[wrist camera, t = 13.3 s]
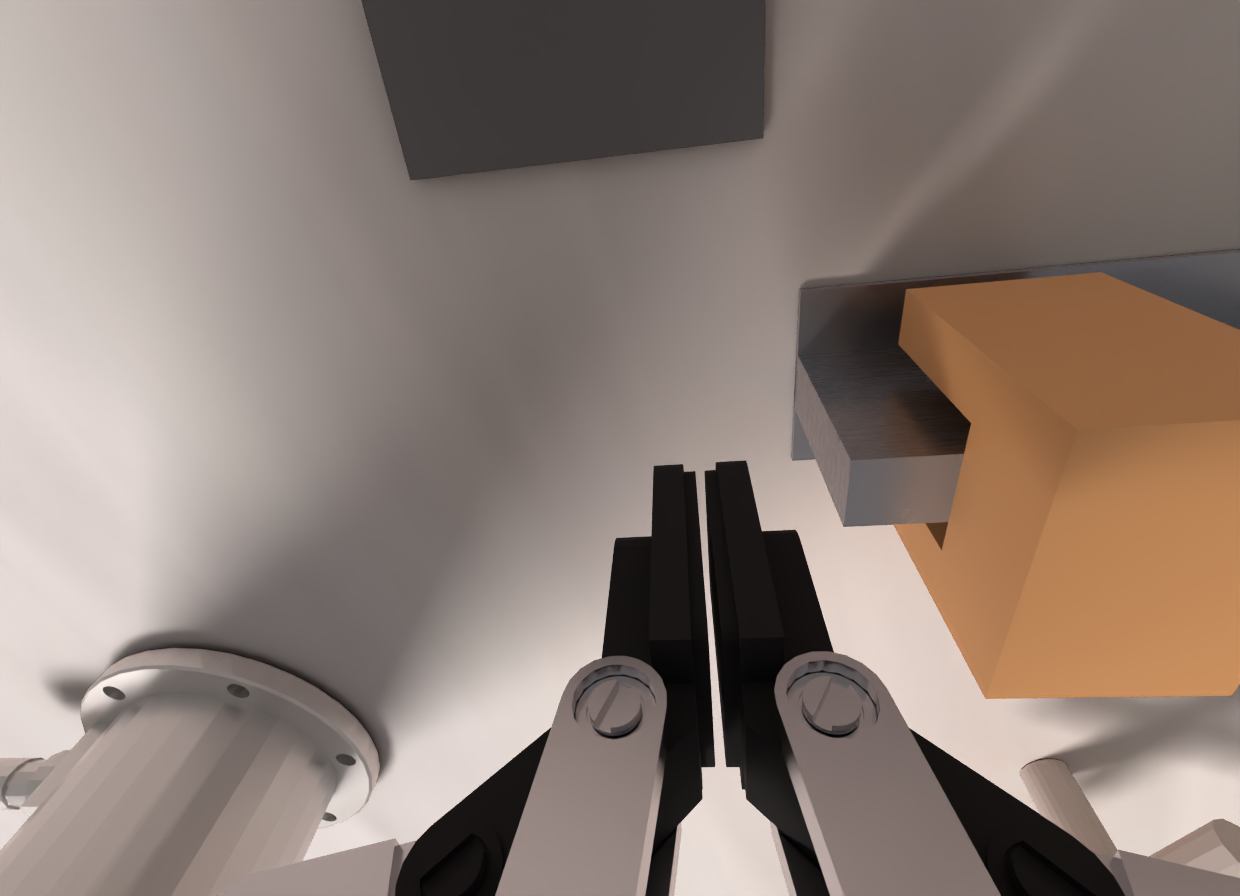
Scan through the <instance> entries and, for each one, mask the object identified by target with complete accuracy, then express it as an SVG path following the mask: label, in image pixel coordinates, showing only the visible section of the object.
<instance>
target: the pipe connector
mask: <svg viewBox="0 0 1240 896" xmlns="http://www.w3.org/2000/svg"><path fill="white" fill-rule="evenodd" d="M1020 776H1021V778H1022V780H1023V782H1024V784H1025V786H1026V788H1027V790H1028V792H1029V794H1030V796H1031V798H1032V800H1033V801H1034V803H1035V805H1036V807H1037V809H1038V811H1039V813H1040V815H1042V816H1043V817H1045V818H1046V819H1048V820H1049V821H1051V822H1052V823H1054V824H1055V825H1057V826H1058V827H1060V828H1061V829H1063V830H1064V831H1066V832H1067V833H1069V834H1070V835H1072V836H1073V837H1074V838H1076V839H1077V840H1078V841H1079V842H1081V843H1082V844H1083V845H1084V846H1086V847H1087V848H1088V849H1089V850H1091V851H1092V852H1095V853H1099V854H1103V855H1107V856H1111V857H1114V855H1115V854H1116V852H1117V851H1118V850H1117V849H1116V847H1115V845H1114V844H1113V842H1112V840H1111V839H1110V837H1109V835H1108V834H1107V832H1106V830H1105V828H1104V827H1103V825H1102V823H1101V822H1100V820H1099V818H1098V817H1097V815H1096V813H1095V812H1094V810H1093V808H1092V807H1091V805H1090V803H1089V802H1088V800H1087V798H1086V797H1085V795H1084V793H1083V792H1082V790H1081V788H1080V787H1079V785H1078V783H1077V782H1076V780H1075V778H1074V777H1073V775H1072V773H1071V772H1070V770H1069V768H1068V767H1067V765H1066V764H1065V763H1064V762H1062V761H1059V760H1055V759H1044V760H1038V761H1035V762H1032V763H1030V764H1028V765H1026V766H1025V767H1024V768H1023V769H1022V770H1021V772H1020ZM1149 857H1152V858H1156V859H1160V860H1165V861H1169V862H1173V863H1177V864H1182V865H1186V866H1190V867H1195V868H1199V869H1203V870H1207V871H1212V872H1216V873H1220V874H1224V875H1229V876H1233V877H1237V878H1240V827H1239V826H1237V825H1235V824H1233V823H1231V822H1228V821H1226V820H1224V819H1216V820H1213V821H1211V822H1209V823H1207V824H1206V825H1204V826H1202V827H1200V828H1199V829H1197V830H1195V831H1193V832H1191V833H1190V834H1188V835H1186V836H1184V837H1183V838H1181V839H1179V840H1177V841H1176V842H1174V843H1172V844H1170V845H1168V846H1167V847H1165V848H1163V849H1161V850H1160V851H1158V852H1156V853H1154V854H1153V855H1151V856H1149Z"/></svg>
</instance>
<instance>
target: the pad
mask: <svg viewBox="0 0 1240 896" xmlns="http://www.w3.org/2000/svg"><path fill="white" fill-rule="evenodd" d="M361 1H362V4H363V8H364V12H365V15H366V19H367V23H368V26H369V30H370V34H371V37H372V41H373V45H374V48H375V52H376V56H377V59H378V63H379V67H380V70H381V74H382V78H383V81H384V85H385V89H386V92H387V96H388V100H389V103H390V107H391V110H392V114H393V118H394V121H395V125H396V129H397V132H398V136H399V140H400V143H401V147H402V151H403V154H404V158H405V162H406V165H407V169H408V173H409V176H410V180H417V179H425V178H434V177H442V176H450V175H459V174H467V173H475V172H484V171H492V170H501V169H509V168H517V167H526V166H534V165H542V164H551V163H559V162H568V161H576V160H584V159H593V158H601V157H609V156H618V155H626V154H635V153H643V152H651V151H660V150H668V149H676V148H685V147H693V146H702V145H710V144H718V143H727V142H735V141H743V140H752V139H760V138H763V119H764V47H765V0H361Z"/></svg>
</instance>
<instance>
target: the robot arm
mask: <svg viewBox="0 0 1240 896" xmlns="http://www.w3.org/2000/svg"><path fill="white" fill-rule="evenodd" d="M705 492H706V513H707V534H708V555H709V576H710V592H711V603H712V615H713V626H714V637H715V648H716V659H717V670H718V681H719V692H720V703H721V714H722V725H723V737H724V748H725V759H726V767H740V775H741V784H742V789H745V791H746V799H747V800H748V801H749V802H750V803H751V804H752V805H753V806H755V807H756V808H757V809H758V810H759V811H760V812H761V813H762V814H763V815H764V816H765V817H766V818H768V819H769V820H770V824H771V832H772V836H773V839H774V843H775V846H776V850H777V853H778V857H779V861H780V864H781V868H782V871H783V875H784V878H785V882H786V885H787V889H788V892H789V896H1240V878H1237V877H1233V876H1229V875H1224V874H1220V873H1216V872H1212V871H1207V870H1203V869H1199V868H1195V867H1190V866H1186V865H1182V864H1177V863H1173V862H1169V861H1165V860H1160V859H1156V858H1152V857H1147V856H1143V855H1139V854H1135V853H1130V852H1126V851H1122V850H1118V851H1117V852H1116V854H1115V855H1114V857H1111V856H1107V855H1103V854H1099V853H1095V852H1092V851H1091V850H1089V849H1088V848H1087V847H1086V846H1084V845H1083V844H1082V843H1081V842H1079V841H1078V840H1077V839H1076V838H1074V837H1073V836H1072V835H1070V834H1069V833H1067V832H1066V831H1064V830H1063V829H1061V828H1060V827H1058V826H1057V825H1055V824H1054V823H1052V822H1051V821H1049V820H1048V819H1046V818H1045V817H1043V816H1042V815H1040V814H1039V813H1037V812H1036V811H1034V810H1033V809H1031V808H1030V807H1028V806H1027V805H1025V804H1023V803H1022V802H1020V801H1019V800H1017V799H1016V798H1014V797H1013V796H1011V795H1010V794H1008V793H1007V792H1005V791H1004V790H1002V789H1001V788H999V787H998V786H996V785H995V784H993V783H992V782H990V781H989V780H987V779H986V778H984V777H983V776H981V775H980V774H978V773H976V772H975V771H973V770H972V769H970V768H969V767H967V766H966V765H964V764H963V763H961V762H960V761H958V760H957V759H955V758H954V757H952V756H951V755H949V754H948V753H946V752H945V751H943V750H942V749H940V748H939V747H937V746H936V745H934V744H933V743H931V742H929V741H928V740H926V739H925V738H923V737H922V736H920V735H919V734H917V733H916V732H914V731H913V730H911V729H910V728H909V727H908V726H907V724H906V722H905V720H904V718H903V717H902V715H901V713H900V711H899V709H898V708H897V706H896V704H895V702H894V700H893V698H892V697H891V695H890V693H889V691H888V689H887V688H886V687H885V685H884V684H883V683H882V681H881V680H880V679H879V677H878V676H877V675H876V674H875V673H874V672H873V671H871V670H870V669H869V668H868V667H866V666H865V665H864V664H863V663H861V662H859V661H857V660H854V659H852V658H850V657H848V656H846V655H842V654H838V653H834V652H833V648H832V645H831V642H830V638H829V635H828V631H827V628H826V625H825V621H824V618H823V615H822V611H821V608H820V605H819V601H818V598H817V595H816V591H815V588H814V585H813V581H812V578H811V575H810V571H809V568H808V565H807V561H806V558H805V555H804V551H803V548H802V545H801V541H800V538H799V535H798V533H797V531H796V530H782V531H762V530H761V526H760V521H759V517H758V512H757V508H756V503H755V498H754V494H753V489H752V485H751V480H750V475H749V471H748V466H747V462H746V461H730V462H716V470H710V471H705ZM81 720H82V724H83V727H84V730H85V735H84V736H83V737H82V738H81V739H80V741H79V742H78V743H77V744H76V745H75V746H74V747H73V748H72V749H71V750H65V751H62V752H60V753H57V754H55V755H53V756H51V757H50V758H49V759H47V760H44V759H43V758H0V810H19V809H21V810H22V811H23V812H24V813H25V814H27V815H28V816H29V818H28V819H27V821H26V822H25V823H24V824H23V825H22V826H21V828H20V829H19V830H18V831H17V832H16V833H15V834H14V836H13V837H12V838H11V839H10V840H9V841H8V842H7V844H6V845H5V846H4V847H3V848H2V849H1V850H0V896H674V891H675V882H676V874H677V865H678V857H679V848H680V840H681V821H682V820H683V819H684V818H685V817H686V816H687V815H688V814H689V813H690V812H691V811H692V809H693V808H694V807H695V806H696V805H697V804H698V803H699V802H700V801H701V800H702V789H703V788H702V769H701V767H715V755H714V736H713V717H712V698H711V679H710V660H709V643H708V628H707V615H706V602H705V589H704V577H703V564H702V551H701V538H700V526H699V513H698V500H697V488H696V475H695V471H693V472H684V469H683V464H679V465H663V466H654V474H653V508H652V536H651V537H629V538H616V540H615V545H614V553H613V562H612V571H611V580H610V589H609V598H608V607H607V616H606V625H605V634H604V643H603V652H602V658H601V659H598V660H594V661H593V662H591V663H589V664H588V665H586V666H584V667H583V668H581V669H580V670H579V671H578V672H577V673H576V674H575V675H574V676H573V677H572V678H571V679H570V681H569V682H568V684H567V686H566V688H565V690H564V692H563V694H562V697H561V700H560V703H559V706H558V709H557V712H556V715H555V718H554V721H553V724H552V727H551V728H550V729H549V730H547V731H546V732H545V733H544V734H542V735H541V736H540V737H539V738H538V739H536V740H535V741H534V742H533V743H532V744H530V745H529V746H528V747H527V748H525V749H524V750H523V751H522V752H521V753H519V754H518V755H517V756H516V757H515V758H513V759H512V760H511V761H510V762H508V763H507V764H506V765H505V766H504V767H502V768H501V769H500V770H499V771H498V772H496V773H495V774H494V775H493V776H491V777H490V778H489V779H488V780H487V781H485V782H484V783H483V784H482V785H480V786H479V787H478V788H477V789H476V790H474V791H473V792H472V793H471V794H470V795H468V796H467V797H466V798H465V799H463V800H462V801H461V802H460V803H459V804H457V805H456V806H455V807H454V808H453V809H451V810H450V811H449V812H448V813H446V814H445V815H444V816H443V817H442V818H440V819H439V820H438V821H437V822H435V823H434V824H433V825H432V826H431V827H430V828H429V829H428V830H427V831H426V832H425V833H424V834H423V835H422V836H421V837H420V838H419V839H418V840H417V841H413V842H409V843H405V844H401V845H399V843H398V842H397V840H396V839H391V840H387V841H383V842H379V843H375V844H371V845H367V846H363V847H359V848H355V849H350V850H346V851H342V852H338V853H334V854H330V855H326V856H322V857H318V858H314V859H310V860H306V861H303V859H304V856H305V854H306V852H307V850H308V848H309V846H310V844H311V841H312V839H313V837H314V835H315V833H316V831H317V829H319V828H325V827H329V826H332V825H335V824H338V823H341V822H343V821H345V820H347V819H349V818H350V817H352V816H353V815H355V814H357V813H358V812H359V811H360V810H361V809H362V808H363V807H364V806H365V805H366V803H367V802H368V800H369V798H370V795H371V793H372V791H373V788H374V786H375V784H376V782H377V779H378V774H379V769H380V764H379V758H378V752H377V750H376V748H375V746H374V744H373V741H372V739H371V737H370V735H369V734H368V732H367V731H366V730H365V729H364V727H363V726H362V725H361V724H360V722H359V721H358V720H357V718H356V717H354V716H353V715H352V714H351V713H350V712H349V711H348V710H347V709H346V708H345V707H343V706H342V705H341V704H340V703H339V702H338V701H336V700H335V699H333V698H332V697H330V696H329V695H327V694H326V693H325V692H323V691H322V690H320V689H319V688H317V687H316V686H314V685H312V684H310V683H308V682H306V681H304V680H302V679H300V678H298V677H296V676H295V675H293V674H291V673H288V672H286V671H283V670H281V669H278V668H276V667H273V666H271V665H268V664H266V663H263V662H260V661H256V660H253V659H249V658H245V657H242V656H238V655H235V654H230V653H224V652H218V651H212V650H206V649H192V648H168V649H158V650H148V651H144V652H141V653H137V654H134V655H130V656H127V657H125V658H123V659H121V660H120V661H118V662H116V663H115V664H113V665H111V666H110V667H109V668H108V669H107V670H106V671H105V672H104V673H103V674H102V675H101V676H100V677H99V678H98V679H97V680H96V681H95V682H94V683H93V684H92V685H91V686H90V687H89V688H88V690H87V692H86V694H85V696H84V698H83V700H82V701H81Z"/></svg>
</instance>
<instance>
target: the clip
mask: <svg viewBox="0 0 1240 896" xmlns="http://www.w3.org/2000/svg"><path fill="white" fill-rule="evenodd" d="M898 345H899V346H900V347H901V348H902V349H903V350H904V351H905V352H906V353H907V354H908V355H909V356H910V358H911V359H912V360H913V361H914V362H915V363H916V364H917V365H918V366H919V367H920V368H921V369H922V371H923V372H924V373H925V374H926V375H927V376H928V377H929V378H930V379H931V380H932V381H933V382H934V384H935V385H936V386H937V387H938V388H939V389H940V390H941V391H942V392H943V393H944V394H945V395H946V397H947V398H948V399H949V400H950V401H951V402H952V403H953V404H954V405H955V406H956V407H957V408H958V410H959V411H960V412H961V413H962V414H963V415H964V416H965V417H966V418H967V419H968V420H969V421H970V423H971V426H970V431H969V435H968V439H967V444H966V448H965V452H964V457H963V461H962V465H961V470H960V474H959V478H958V483H957V487H956V491H955V496H954V500H953V504H952V509H951V513H950V517H949V522H938V523H916V524H893V525H894V527H895V528H896V530H897V532H898V534H899V536H900V538H901V540H902V542H903V544H904V545H905V547H906V549H907V551H908V553H909V555H910V557H911V559H912V561H913V563H914V564H915V566H916V568H917V570H918V572H919V574H920V576H921V578H922V580H923V581H924V583H925V585H926V587H927V589H928V591H929V593H930V595H931V597H932V598H933V600H934V602H935V604H936V606H937V608H938V610H939V612H940V614H941V615H942V617H943V619H944V621H945V623H946V625H947V627H948V629H949V631H950V632H951V634H952V636H953V638H954V640H955V642H956V644H957V646H958V648H959V649H960V651H961V653H962V655H963V657H964V659H965V661H966V663H967V665H968V667H969V668H970V670H971V672H972V674H973V676H974V678H975V680H976V682H977V684H978V685H979V687H980V689H981V691H982V693H983V695H984V697H985V699H1007V698H1090V697H1173V696H1232V695H1233V693H1234V692H1235V690H1236V689H1237V687H1238V686H1239V684H1240V330H1238V329H1236V328H1234V327H1231V326H1229V325H1226V324H1224V323H1222V322H1219V321H1217V320H1214V319H1212V318H1210V317H1207V316H1205V315H1202V314H1200V313H1198V312H1195V311H1193V310H1190V309H1188V308H1186V307H1183V306H1181V305H1178V304H1176V303H1174V302H1171V301H1169V300H1166V299H1164V298H1162V297H1159V296H1157V295H1154V294H1152V293H1150V292H1147V291H1145V290H1142V289H1140V288H1138V287H1135V286H1133V285H1130V284H1128V283H1126V282H1123V281H1121V280H1118V279H1116V278H1114V277H1111V276H1109V275H1106V274H1104V273H1102V272H1097V273H1086V274H1074V275H1063V276H1052V277H1040V278H1029V279H1017V280H1006V281H994V282H983V283H971V284H960V285H949V286H937V287H926V288H914V289H906V294H905V301H904V308H903V315H902V321H901V328H900V335H899V342H898Z"/></svg>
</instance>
